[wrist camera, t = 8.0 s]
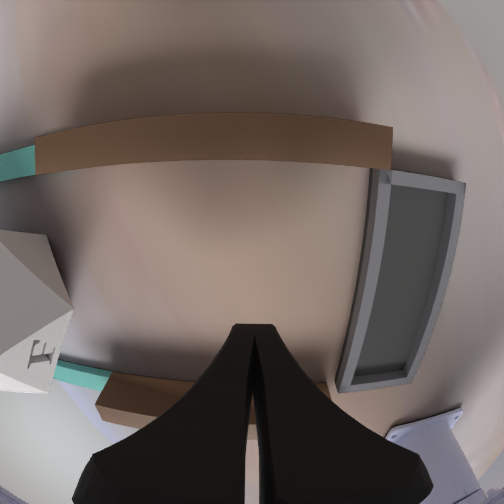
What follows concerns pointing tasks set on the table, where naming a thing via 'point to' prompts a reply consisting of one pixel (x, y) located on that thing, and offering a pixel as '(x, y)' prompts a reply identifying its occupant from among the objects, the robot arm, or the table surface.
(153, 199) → the table surface
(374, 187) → the grey flat rectangular tray
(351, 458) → the robot arm
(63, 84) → the table surface
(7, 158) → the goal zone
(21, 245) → the die
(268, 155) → the channel
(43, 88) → the table surface
